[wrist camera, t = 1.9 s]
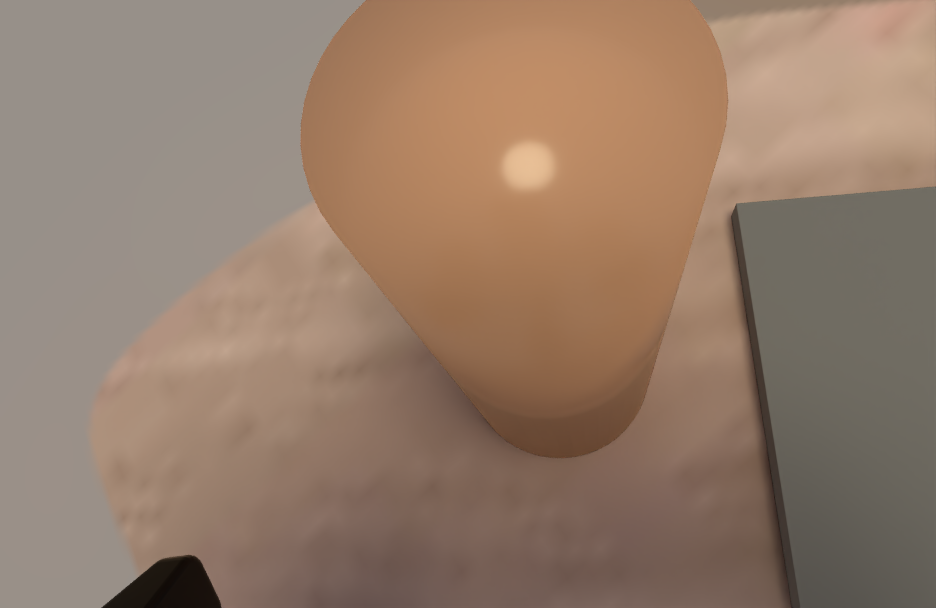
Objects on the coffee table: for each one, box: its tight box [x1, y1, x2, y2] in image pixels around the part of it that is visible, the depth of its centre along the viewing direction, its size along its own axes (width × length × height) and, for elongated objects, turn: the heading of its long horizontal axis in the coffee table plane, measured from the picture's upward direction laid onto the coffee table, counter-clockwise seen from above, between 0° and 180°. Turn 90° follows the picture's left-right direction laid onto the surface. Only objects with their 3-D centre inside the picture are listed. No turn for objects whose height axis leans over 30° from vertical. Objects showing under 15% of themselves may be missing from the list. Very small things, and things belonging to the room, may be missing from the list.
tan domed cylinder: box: [301, 0, 728, 458], centre depth 14 cm, size 5×5×13 cm
